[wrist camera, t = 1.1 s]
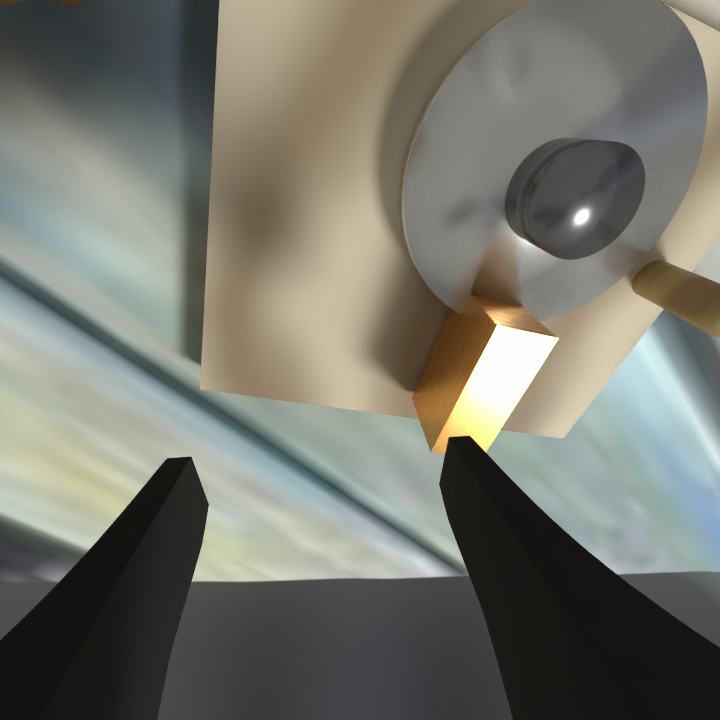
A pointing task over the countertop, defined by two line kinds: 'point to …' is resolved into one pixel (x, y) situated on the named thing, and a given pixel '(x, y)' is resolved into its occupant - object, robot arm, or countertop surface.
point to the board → (386, 215)
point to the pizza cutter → (542, 188)
